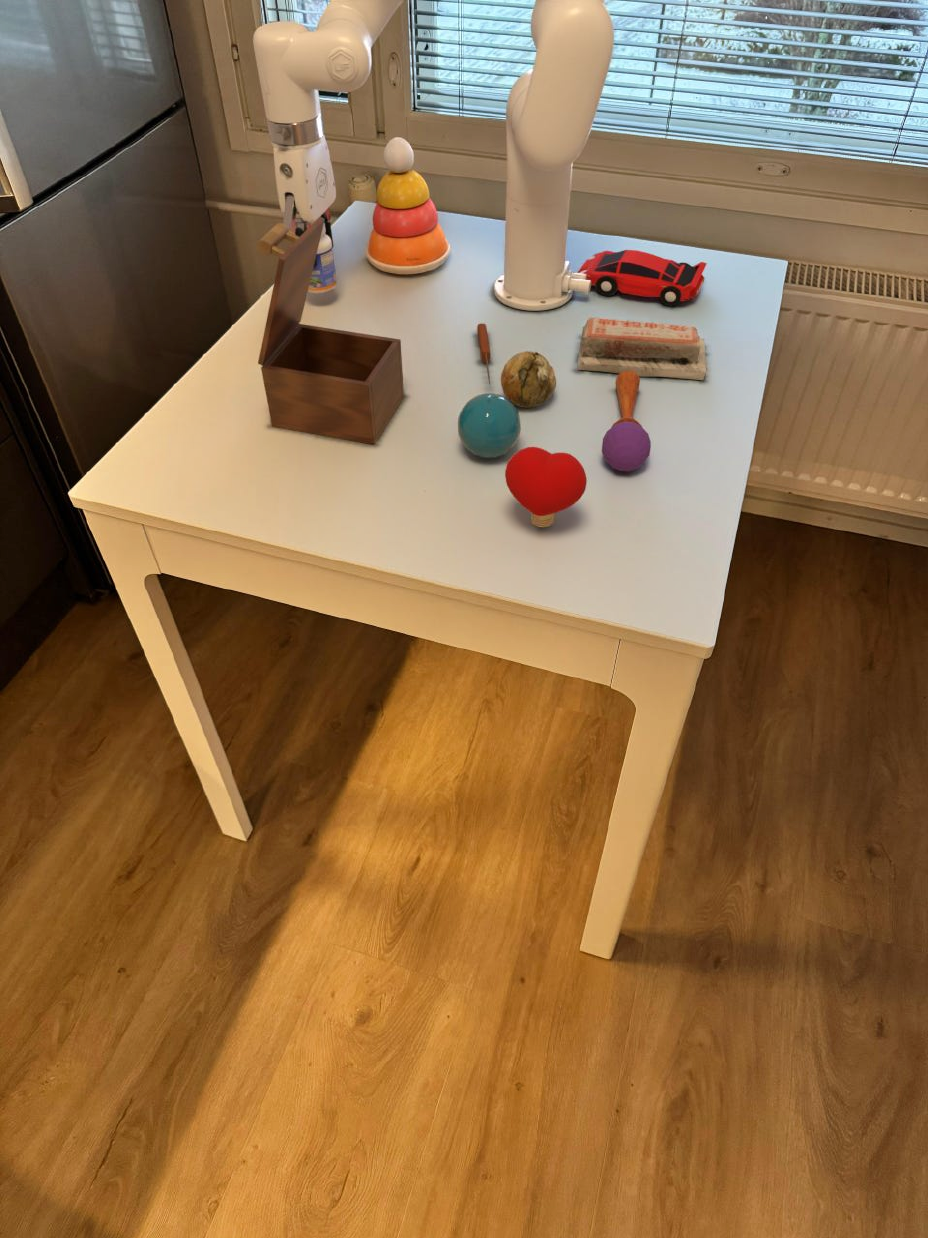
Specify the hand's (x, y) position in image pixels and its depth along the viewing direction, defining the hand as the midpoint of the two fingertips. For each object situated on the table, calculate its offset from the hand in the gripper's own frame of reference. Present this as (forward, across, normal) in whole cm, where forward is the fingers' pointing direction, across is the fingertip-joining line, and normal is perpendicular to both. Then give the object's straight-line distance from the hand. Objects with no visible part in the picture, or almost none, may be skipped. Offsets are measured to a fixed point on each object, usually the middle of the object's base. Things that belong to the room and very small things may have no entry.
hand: (315, 255), depth 139 cm
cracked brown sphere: (+9, -17, -38) cm, 43 cm away
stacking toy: (+8, +18, -8) cm, 21 cm away
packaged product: (+9, -2, -51) cm, 52 cm away
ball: (+8, -30, -36) cm, 48 cm away
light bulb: (+9, -42, -46) cm, 63 cm away
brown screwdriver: (+9, -9, -30) cm, 32 cm away
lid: (-9, -27, -10) cm, 30 cm away
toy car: (+9, +19, -47) cm, 52 cm away
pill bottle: (+5, 0, 0) cm, 5 cm away
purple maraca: (+9, -21, -52) cm, 57 cm away
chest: (+8, -27, -14) cm, 32 cm away
